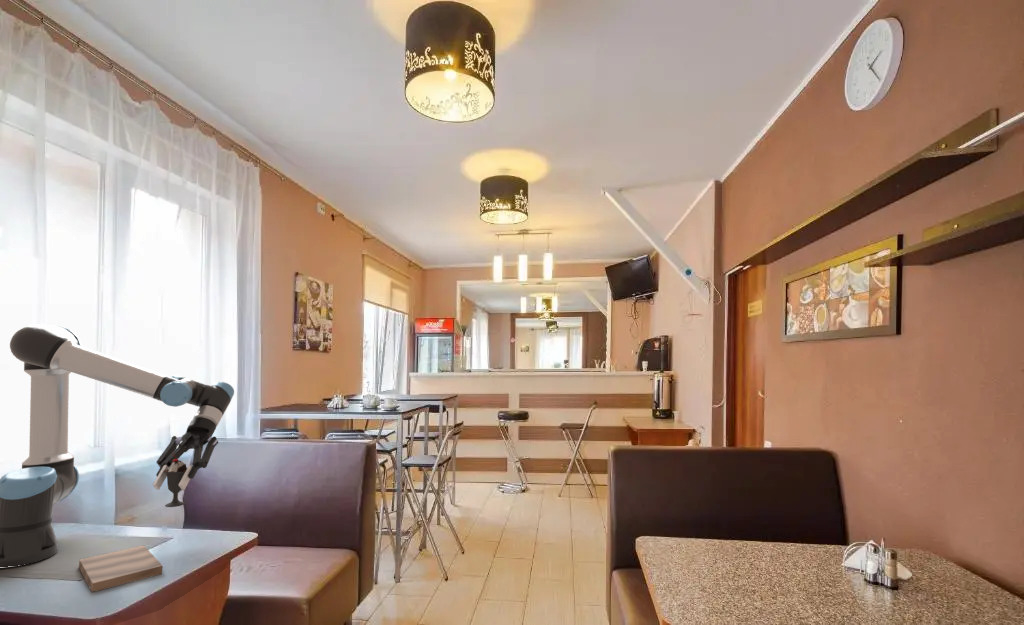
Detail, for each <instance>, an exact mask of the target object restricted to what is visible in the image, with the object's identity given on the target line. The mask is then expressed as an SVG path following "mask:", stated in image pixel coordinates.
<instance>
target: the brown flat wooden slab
mask: <svg viewBox="0 0 1024 625" xmlns="http://www.w3.org/2000/svg"><path fill="white" fill-rule="evenodd" d="M163 567H164V566H163V564H162V563H161V562H160V561H159V560H158V559H157V558H156V557H155V555H154V554H152V553H151V551H150V550H149V549H148V548H147V547H146V546H145V545H140V546H139V545H138V546H135V547H130V548H126V549H122V550H121V549H120V550H117V551H113V552H112V551H111V552H107V553H104V554H98V555H95V556H94V555H93V556H90V557H86V558H82V559H79V561H78V569H79V571H80V572H81V574H82V576H83V578H84V581H85V582H86V583H87V585H88V586H87V587H90V588H89V589H90V591H91V592H92V593H94V592H93V591H95V592H98V591H101V590H105V589H109V588H114V587H117V586H121V585H124V584H125V585H126V584H128V583H132V582H133V583H134V582H135V581H136V582H137V581H140V580H143V579H147V578H151V576H152V577H155V576H158V575H162V574H163Z"/></svg>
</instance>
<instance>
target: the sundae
mask: <svg viewBox="0 0 1024 625" xmlns="http://www.w3.org/2000/svg"><path fill="white" fill-rule="evenodd" d="M172 455H174V453H172ZM174 456H175V455H174ZM187 468H188V466H187V464H186V463H184V462H183V461H182V460H179V458H178V459H176V456H175V459H174V460H173V461H172V464H171V465H170V466H169V468H168V470H164V472H165V473H166V476H167V477H166V482H167V483H166V484H167V489H168V491H169V492H171V493H172V494H173V496H172V501H170V502H168V503H165V504H164V507H165V508H176V507H182V506H184V505H185V501H180V500H179V497H178V496H179V493H180V492H181V491H183V490H182V489H181V488H180V487H179V483H180V481H181V479H182V477H183V476H184V474H185V472H186V470H187Z"/></svg>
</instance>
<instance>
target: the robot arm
mask: <svg viewBox="0 0 1024 625" xmlns="http://www.w3.org/2000/svg"><path fill="white" fill-rule="evenodd" d="M9 348H10V352H11V353H12V355H13V356H14V357H15V358H16V359H18V360H19V361H20V362H23V372H24V373H25V374H28V375H29V376H30V400H29V401H30V403H29V404H30V408H29V409H30V410H29V411H30V412H29V414H30V416H29V447H28V448H29V449H28V451H29V453H28V457H27V458H26V459H25V460H24V461H23V462H21V468H20V469H18V470H17V469H16V470H12V471H10V472H7V473H6V474H4V475H2V476H1V477H0V567H8V566H18V565H23V566H25V565H24V564H27V565H30V564H29V563H31V564H33V562H35V563H38V562H41V561H44V560H46V559H48V558H51V557H53V556H54V555H56V554H57V553H58V548H59V543H58V542H59V541H58V539H57V537H56V533H55V531H54V528H53V525H52V524H53V513H54V505H56V504H57V503H59V502H61V501H63V500H65V499H66V498H67V497H69V496H70V495H71V494H72V492H73V491H74V490H75V489H76V487H77V485H78V483H79V480H80V473H79V470H78V469H77V467H76V466H75V456H74V455H73V454H71V453H70V452H69V451H68V449H69V448H68V447H69V445H68V444H69V389H70V388H69V384H70V383H69V382H70V379H69V377H70V374H72V373H73V374H77V375H79V376H83V377H85V378H89V379H93V380H95V381H98V382H101V383H104V384H108V385H110V386H113V387H117V388H119V389H123V390H126V391H129V392H133V393H135V394H139V395H141V396H145V397H148V398H151V399H153V400H157V401H159V402H162V403H163V404H164V405H167V407H174V408H175V407H177V408H178V407H180V406H183V405H186V404H189V405H192V406H195V407H198V409H197V411H196V412H195V415H194V416H193V418H192V419H191V421H190V422H189V425H188V426H187V429H186V431H185V433H184V434H182V436H176V435H173V436H172V437H171V439H170V442H169V444H168V445H167V446H166V448H165V449H164V450H163V451H162V453H161V455H160V456H159V457H158V459H157V460H156V464H157V465H158V466H159V469H158V471H157V473H156V475H155V476H156V478H155V480H154V482H153V483H152V487H154V489H155V490H157V491H159V490H160V489H161V487H162V485H163V483H164V482H165V480H167V476H166V473H165V472H164V470H168V468H169V466H170V465H171V464H172V461H173V460H174V459H175V456H176V459H178V460H179V459H180V458H181V457H182V456H183V454H185V453H187V452H188V451H189V450H194V453H193V458H192V462H191V464H192V465H191V464H189V465H188V466H187V470H186V472H185V474H184V476H183V477H182V479H181V481H180V483H179V487H180V488H181V489H182V490H181V491H185V490H186V488H187V486H188V484H189V483H190V480H191V479H194V477H195V476H196V474H197V472H198V471H199V470H200V469H205V468H207V466H208V465H209V462H210V459H211V456H212V455H213V452H214V449H215V447H216V446H218V444H219V440H218V439H217V437H216V436H213V435H214V434H215V432H216V431H215V430H217V427H218V425H219V424H220V422H221V420H222V418H223V416H224V414H225V413H226V411H227V409H228V407H229V405H230V404H231V402H232V399H233V396H234V395H235V390H234V387H233V386H232V385H231V384H229V383H228V382H225V381H221V382H220V381H216V382H214V383H213V384H211V385H209V384H205V383H203V382H199V381H196V380H193V379H189V378H186V377H185V376H180V375H172V376H167V375H165V374H162V373H159V372H156V371H153V370H150V369H148V368H145V367H141V366H138V365H136V364H133V363H130V362H126V361H124V360H122V359H119V358H115V357H113V356H110V355H107V354H104V353H101V352H98V351H95V350H92V349H90V348H87V347H84V346H82V341H81V339H80V336H78V335H77V334H76V333H75V332H74V331H72V330H70V329H68V328H66V327H64V326H59V325H58V326H56V325H47V324H31V325H27V326H24V327H22V328H21V329H20V328H19V330H17V331H16V332H15V333H14V334H13V336H12V337H11V339H10V343H9ZM205 445H206V447H205V449H204V446H205ZM203 451H204V452H203ZM172 453H174V455H175V456H174V455H172ZM43 559H44V560H43ZM40 560H41V561H40ZM37 561H38V562H37ZM18 567H19V566H18Z"/></svg>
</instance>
